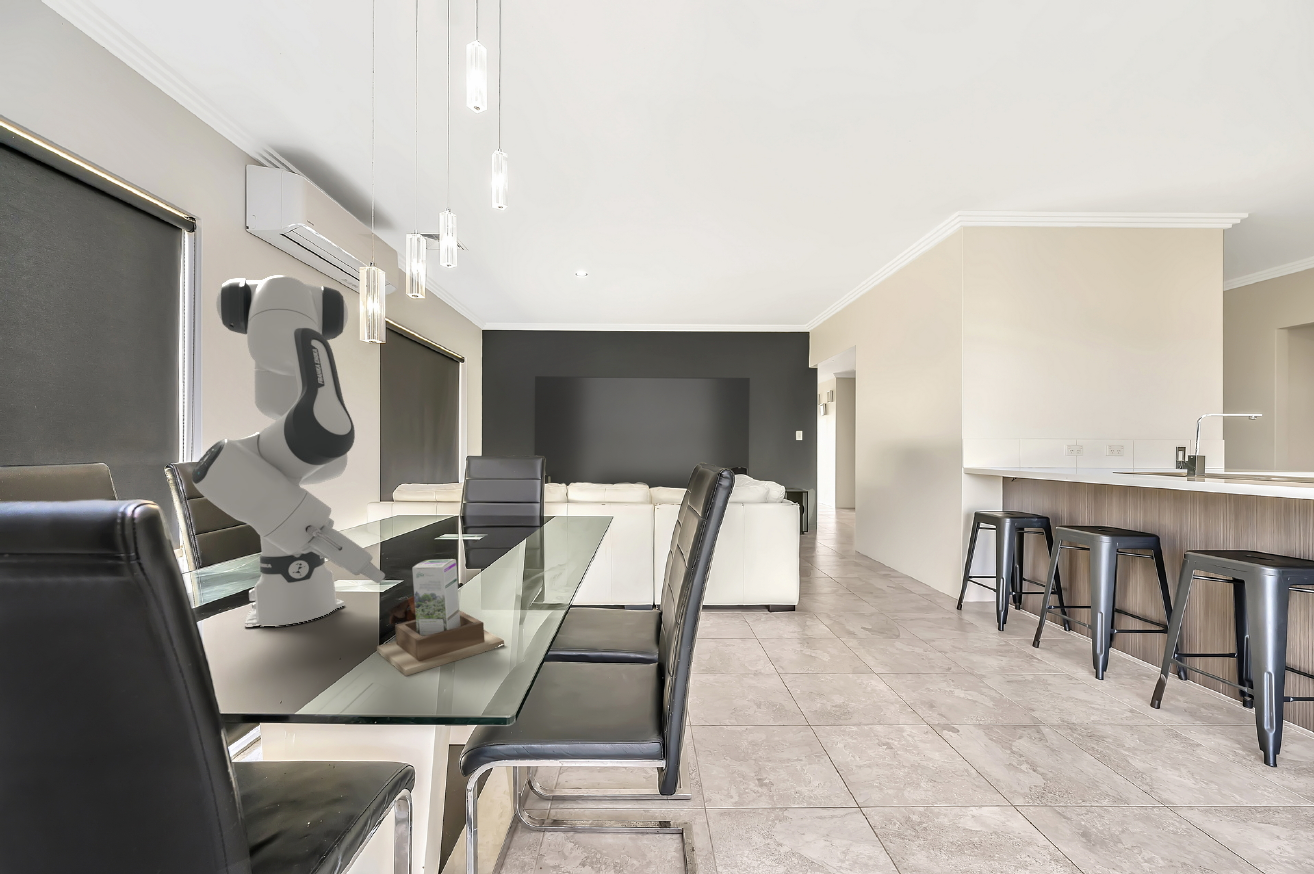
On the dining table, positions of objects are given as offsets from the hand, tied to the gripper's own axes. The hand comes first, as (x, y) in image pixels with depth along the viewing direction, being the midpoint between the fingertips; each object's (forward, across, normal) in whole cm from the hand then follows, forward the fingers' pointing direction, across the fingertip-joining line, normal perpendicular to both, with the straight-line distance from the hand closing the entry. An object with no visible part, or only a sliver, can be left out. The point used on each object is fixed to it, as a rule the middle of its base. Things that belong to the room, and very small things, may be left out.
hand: (372, 574), depth 101 cm
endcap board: (+18, 0, +4) cm, 19 cm away
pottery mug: (+20, +13, +3) cm, 24 cm away
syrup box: (+18, 0, +3) cm, 18 cm away
